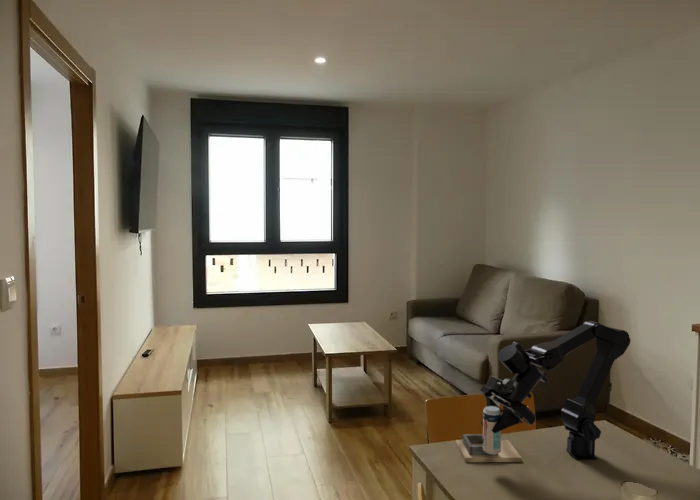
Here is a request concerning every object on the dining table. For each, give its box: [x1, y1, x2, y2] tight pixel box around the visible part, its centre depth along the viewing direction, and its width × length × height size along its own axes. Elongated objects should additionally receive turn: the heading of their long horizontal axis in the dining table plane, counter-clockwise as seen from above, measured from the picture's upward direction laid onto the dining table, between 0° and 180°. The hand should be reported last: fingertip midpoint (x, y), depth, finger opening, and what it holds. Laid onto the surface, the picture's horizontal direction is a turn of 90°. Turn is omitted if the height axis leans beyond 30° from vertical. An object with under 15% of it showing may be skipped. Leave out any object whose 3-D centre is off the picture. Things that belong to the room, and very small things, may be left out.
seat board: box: [455, 433, 522, 463], centre depth 151 cm, size 16×12×4 cm
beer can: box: [482, 405, 502, 455], centre depth 140 cm, size 5×5×12 cm
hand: (487, 428), depth 139 cm, fingers closed on beer can, 5 cm apart
